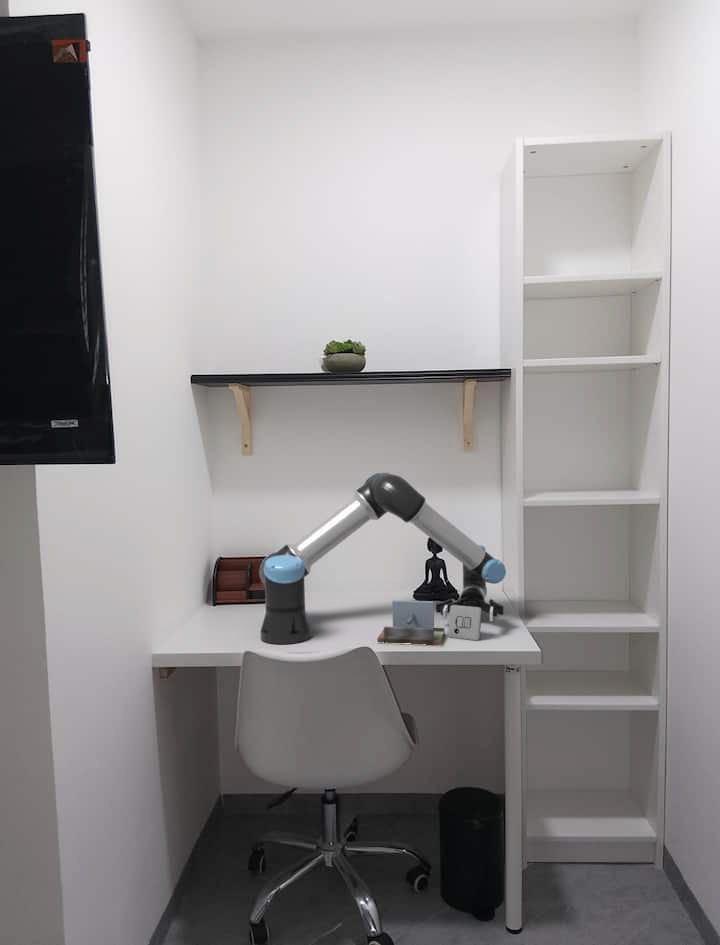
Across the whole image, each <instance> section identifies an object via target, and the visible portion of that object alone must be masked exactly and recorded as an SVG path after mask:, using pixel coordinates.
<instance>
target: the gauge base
mask: <svg viewBox="0 0 720 945" xmlns="http://www.w3.org/2000/svg"><path fill="white" fill-rule="evenodd" d="M434 628H435V627H434ZM434 628H410V627H393V626H384V627H383V629H382V631H381V632H380V634H379V636H377V638H376V639H377V642H384V643H386V642H387V643H411V644H426V645H425V646H428V645H441V646H442V644H441V643H443V641H444V639H443V638H445V636H446V634H445V633H446V632H445V630H444V631H437V630H434Z"/></svg>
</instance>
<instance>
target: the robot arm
mask: <svg viewBox="0 0 720 945" xmlns="http://www.w3.org/2000/svg"><path fill="white" fill-rule="evenodd" d="M353 496H354V497H353V499H351V500H350V501H349V502H347V503H346V504H345V505H343V506H342V507H341V508H340V509H338V510H337V511H336V512H334V513H333V514H332V515H331V516H329V517H327V519H326V520H324V521H323V522H322V523H320V524H319V525H318V526H316V527H315V528H313V529H312V530H311V531H310V532H309V533H308V534H306V535H305V536H303V537H302V538H301V539H299V540H298V541H297V542H295V543H294V544H291V543H287V544H286V545H284V546H283V547H281V548H280V549H279V550H278V551H275V552H272V553H269V554H268V555H266V556H265V558H264V559H263V560H262V561H261V564H260V567H259V579H260V582H261V584H263V586H264V596H265V599H264V603H265V614H264V617H263V621H262V625H261V628H260V631H259V632H260V640H261V639H262V640H263V641H262V640H261V641H262V642H264V641H265V642H264V643H268V644H273V645H274V644H275V645H291V644H297V643H302V642H305V641H307V640H309V639H311V638H312V637H313V632H312V630H313V629H312V626H311V623H310V621H309V620H310V619H309V617H308V614H307V611H306V594H305V591H306V589H305V578H306V577H307V576H308V575H309V574H311V567H312V566H313V565H314V564H315V563H317V562H318V561H319V560H320V559H322V558H323V557H324V556H326V555H327V554H329V552H331V551H332V550H333V549H335V548H336V547H337V546H338V545H340V544H341V543H342V542H343V541H345V540H346V539H347V538H349V537H350V536H351V535H352V534H354V533H355V532H356V531H357V530H359V529H360V528H361V527H362V526H364V525H366V523H368V522H370V521H371V520H372V521H374V520H375V521H378V520H379V519H381V518H382V517H383V516H384V515H386V514H387V513H390V514H392V515H394V516H396V517H397V518H399V519H400V520H402V521H403V522H405V523H407V524H408V523H411V524H412V525H414V526H415V527H416V528H417V529H418V530H420V531H421V532H422V533H424V534H425V535H426V536H427V537H429V538H430V539H431V540H432V541H434V542H435V543H436V544H437V545H439V546H440V547H441V548H443V550H444V551H446V552H448V553H449V554H450V555H452V556H453V557H454V558H455V559H456V560H458V561H459V562H461V563H462V592H461V595H460V597H459V599H457V600H455V599H454V598H453V597H450V598H448V599H446V600H444V601H441V602H438V603H436V604H435V613H438V614H439V613H440V615H441V616H442V620H444V621H446V619H447V618H448V615H449V614H448V613H450V607H451V606H452V605H459V606H469V607H479V608H481V610H482V612H485V613H487V614H489V622H493V621H494V617H498V615H501V616H503V615H504V605H502V604H500V603H499V602H496V601H494V599H493V598H490V599H488V600H487V601H485V599H486V596H487V591H488V590H487V584H493V585H495V584H499V583H502V581H503V580H504V579H505V577H506V573H507V569H506V566H505V565H504V563H503V562H502V561H500V560H499V559H497V558H495V557H493V556H492V555H491V554H490V553H488V552H487V551H486V547H485V546H484V545H480V544H477V543H476V542H475V541H473V540H472V539H471V538H470V537H469V536H467V535H466V534H465V533H463V531H461V530H460V529H459V528H458V527H456V526H455V525H454V524H452V522H450V521H449V520H448V519H446V518H445V517H444V516H443V515H441V514H440V513H439V512H438V511H436V510H435V509H434V508H433V507H432V506H430V505H429V504H428V503H427V499H426V497H424V495H422V494H421V493H420V492H418V491H417V489H415V487H413V486H412V485H411V484H410V483H409V482H408V481H407V480H405V479H404V478H403V477H401V476H400V475H397V474H391V473H389V472H382V471H381V472H376V473H374V474H372V475H370V476H369V477H368V478H367V479H365V481H364V483H363V485H361V486H360V487H359V488H358V489H356V490H355V491H354V494H353Z"/></svg>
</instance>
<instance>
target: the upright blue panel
mask: <svg viewBox="0 0 720 945" xmlns="http://www.w3.org/2000/svg"><path fill="white" fill-rule="evenodd" d="M392 627H410V628H434V630H437V631H445V627H435V602H434V601H433V600H431V601H430V600H428V601H427V600H404V599H403V600H399V599H398V600H397V599H396V600H395V599H393V600H392Z"/></svg>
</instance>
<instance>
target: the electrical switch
mask: <svg viewBox="0 0 720 945" xmlns="http://www.w3.org/2000/svg"><path fill="white" fill-rule="evenodd" d="M482 613H483V611H482V610H481V608H479V607H469V606H459V605H452V606H451V607H450V612H449V619H448V630H447V636H448V637H449V638H452V637H455V638H454V639H460V638H463V639H464V640H469V639H470V641H479V640H480V639H481V638H480V637H481V624H482ZM463 639H462V640H463Z"/></svg>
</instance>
